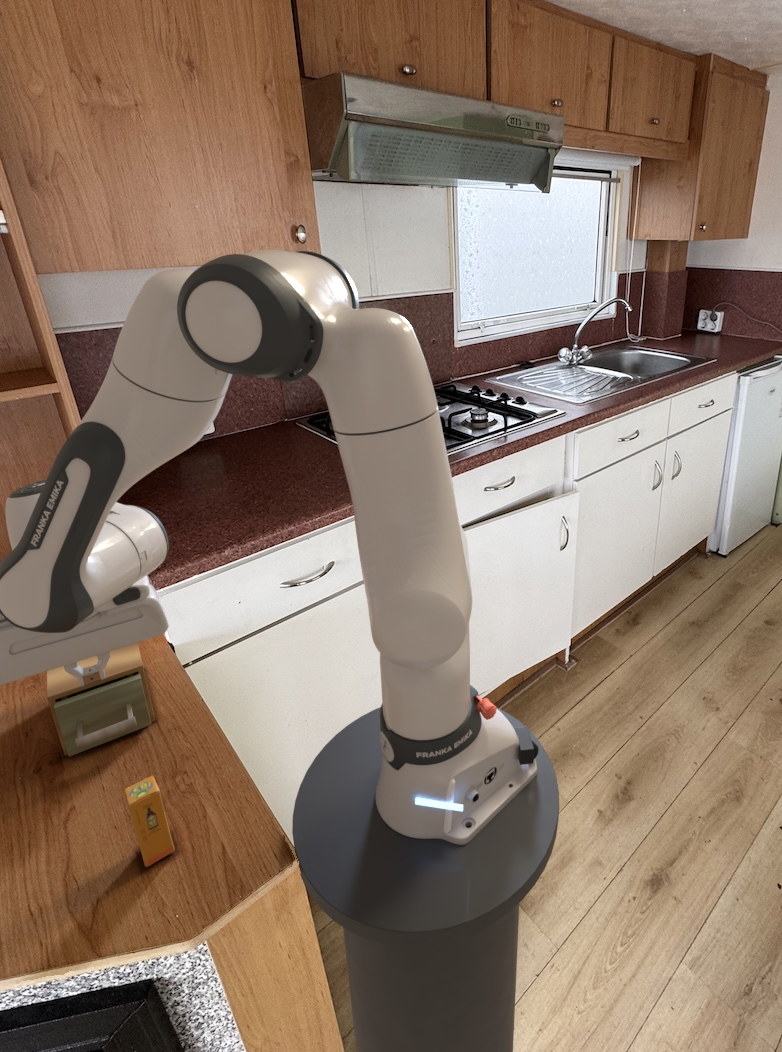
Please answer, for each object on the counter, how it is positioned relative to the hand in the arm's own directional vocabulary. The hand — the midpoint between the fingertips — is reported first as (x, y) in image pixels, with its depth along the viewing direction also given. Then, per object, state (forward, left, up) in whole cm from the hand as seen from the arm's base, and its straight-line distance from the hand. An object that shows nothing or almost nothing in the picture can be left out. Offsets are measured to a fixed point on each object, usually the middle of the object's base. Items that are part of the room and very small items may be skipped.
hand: (92, 680), depth 81 cm
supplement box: (-3, +21, -13) cm, 25 cm away
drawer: (0, -6, -12) cm, 13 cm away
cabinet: (0, -10, -13) cm, 16 cm away
